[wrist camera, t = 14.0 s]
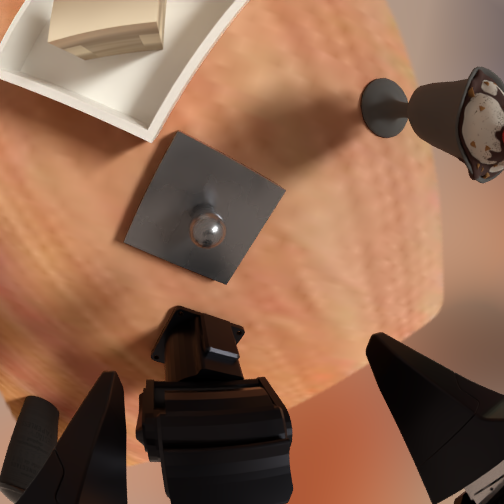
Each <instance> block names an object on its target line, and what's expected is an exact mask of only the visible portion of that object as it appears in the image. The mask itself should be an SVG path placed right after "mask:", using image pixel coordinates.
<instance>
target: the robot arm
mask: <svg viewBox="0 0 504 504" xmlns="http://www.w3.org/2000/svg"><path fill="white" fill-rule="evenodd" d="M178 312H183V313H181V314H180V313H178ZM238 331H240V332H238ZM244 333H245V331H244V328H243V327H242V326H239V325H236V324H233V323H230V322H229V321H226V320H223V319H220V318H217V317H214V316H211V315H208V314H205V313H200V312H197V311H194V310H191V309H188V308H185V307H182V306H178V307H176V308H175V309H174V311H173V313H172V315H171V317H170V318H169V320H168V322H167V324H166V326H165V328H164V330H163V332H162V333H161V335H160V337H159V339H158V341H157V343H156V345H155V347H154V349H153V351H152V352H151V358H152V360H154V361H157V362H161V363H164V364H165V381H154V380H147V381H146V388H144V390H143V393H141V394H140V395H139V415H138V420H137V426H136V439H137V440H138V441H139V442H140V443H142V444H143V445H144V447H145V451H146V452H148V457H149V461H150V462H161V467H162V474H163V480H164V487H165V492H166V495H167V496H168V497H169V498H170V500H171V504H286V503H288V501H289V499H290V497H291V494H292V491H293V484H292V478H291V472H290V463H289V450H290V446H291V442H292V425H291V420H290V416H289V414H288V411H287V409H286V407H285V405H284V404H283V403H282V401H281V400H280V398H279V397H278V395H277V394H276V393H275V391H274V390H273V388H272V387H271V385H270V384H269V382H268V381H267V379H266V378H265V377H257V379H245V380H243V379H244V377H243V374H242V370H241V367H240V364H239V360H238V359H239V358H240V356H239V352H238V349H237V343H238V342H239V341H240V339H241V338H242V337H243V335H244ZM156 355H157V356H156ZM366 356H367V358H368V361H369V364H370V366H371V369H372V371H373V374H374V377H375V379H376V382H377V384H378V387H379V389H380V391H381V393H382V395H383V397H384V399H385V401H386V403H387V405H388V407H389V409H390V411H391V413H392V415H393V418H394V419H395V422H396V424H397V426H398V428H399V430H400V432H401V434H402V436H403V439H404V441H405V443H406V445H407V447H408V449H409V452H410V454H411V456H412V458H413V460H414V463H415V465H416V467H417V469H418V472H419V474H420V476H421V479H422V481H423V483H424V486H425V488H426V490H427V493H428V495H429V497H430V500H431V502H432V504H437V503H439V502H441V501H443V500H445V499H446V498H448V497H450V496H451V495H453V494H455V493H457V492H458V491H460V490H462V489H463V488H464V489H465V490H466V491H465V492H463V493H462V494H461V495H460V496H458V497H457V498H456V499H455V501H454V504H504V395H502V394H500V393H497V392H495V391H493V390H490V389H488V388H486V387H483V386H481V385H479V384H476V383H474V382H472V381H470V380H468V379H466V378H464V377H462V376H461V375H459V374H457V373H454V372H453V371H451V370H450V369H448V368H446V367H444V366H442V365H441V364H439V363H437V362H435V361H433V360H431V359H429V358H428V357H426V356H424V355H422V354H420V353H419V352H417V351H415V350H413V349H412V348H410V347H408V346H406V345H404V344H403V343H401V342H399V341H397V340H395V339H394V338H392V337H390V336H388V335H386V334H385V333H382V332H379V333H376V334H373V335H372V336H371V338H370V340H369V343H368V345H367V348H366ZM15 504H127V482H126V420H125V406H124V391H123V386H122V384H121V381H120V379H119V377H118V375H117V373H116V371H104V372H103V373H102V374H101V375H100V377H99V378H98V380H97V381H96V383H95V384H94V386H93V387H92V389H91V390H90V392H89V393H88V395H87V397H86V398H85V400H84V401H83V403H82V404H81V406H80V407H79V409H78V410H77V412H76V414H75V415H74V417H73V418H72V420H71V421H70V423H69V425H68V426H67V428H66V429H65V431H64V433H63V434H62V436H61V438H60V439H59V441H58V443H57V444H56V446H55V449H53V451H52V452H51V454H50V456H49V457H48V459H47V461H46V462H45V464H44V465H43V467H42V468H41V470H40V471H39V473H38V474H37V475H36V477H35V478H34V480H33V481H32V482H31V483H30V485H29V486H28V487H27V489H26V490H25V491H24V493H23V494H22V495H21V497H20V498H19V499H18V501H17V502H16V503H15Z"/></svg>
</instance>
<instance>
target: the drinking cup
mask: <svg viewBox="0 0 504 504" xmlns="http://www.w3.org/2000/svg"><path fill="white" fill-rule="evenodd" d="M58 419H59V412H58V410H57V408H56V407H55V406H54V405H52V404H51V403H50V402H48V401H46V400H44V399H42V398H39V397H35V396H29V397H27V398H26V399H25V402H24V404H23V407H22V409H21V412H20V415H19V417H18V420H17V423H16V426H15V428H14V431H13V434H12V437H11V441H10V443H9V446H8V450H7V453H6V456H5V460H4V463H3V467H2V471H1V475H0V491H1V492H2V493H3V494H4V495H5V496H6V497H7V498H8V499H9V500H10V501H12V502H13V503H14V504H15V503H16V502H17V501H18V499H19V498H20V497H21V495H22V494H23V493H24V491H25V490H26V489H27V487H28V486H29V485H30V483H31V482H32V481H33V480H34V478H35V477H36V475H37V474H38V473H39V471H40V470H41V468H42V467H43V465H44V464H45V462H46V461H47V459H48V457H49V456H50V454H51V452H52V451H53V449H55V446H56V444H57V436H58Z"/></svg>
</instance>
